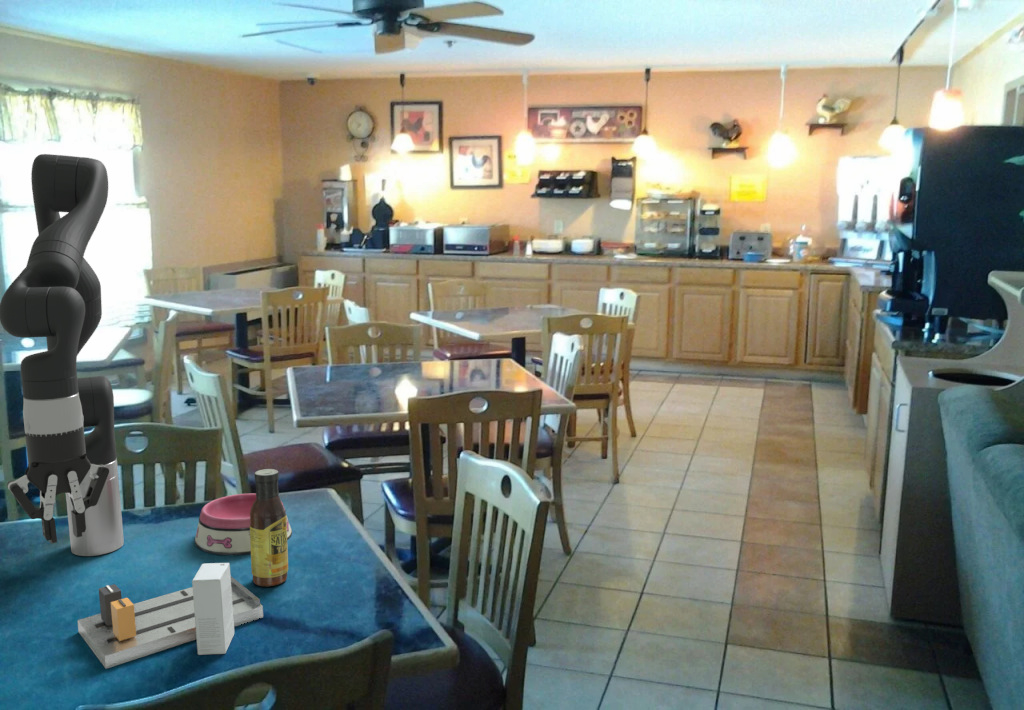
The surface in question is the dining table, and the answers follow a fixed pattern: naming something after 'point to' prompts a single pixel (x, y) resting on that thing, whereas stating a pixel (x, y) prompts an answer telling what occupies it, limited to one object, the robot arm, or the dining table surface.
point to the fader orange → (123, 619)
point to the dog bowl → (227, 525)
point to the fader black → (108, 601)
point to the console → (160, 625)
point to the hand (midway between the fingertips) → (65, 538)
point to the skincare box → (213, 608)
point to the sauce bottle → (268, 532)
